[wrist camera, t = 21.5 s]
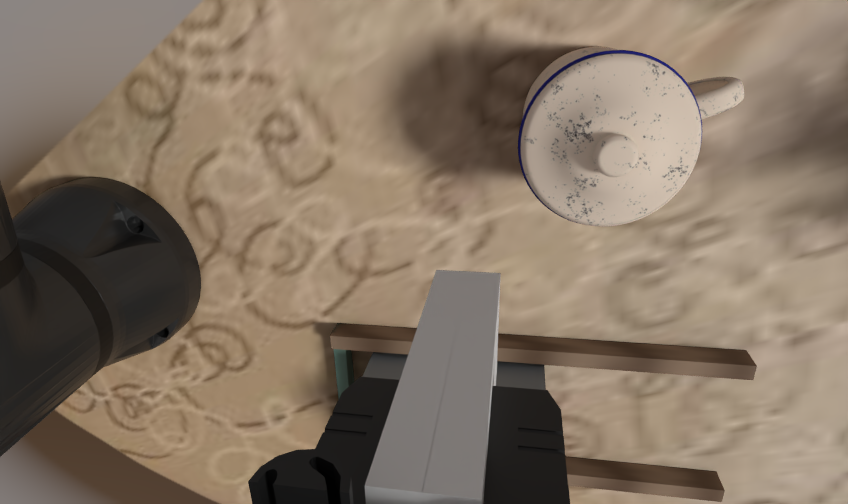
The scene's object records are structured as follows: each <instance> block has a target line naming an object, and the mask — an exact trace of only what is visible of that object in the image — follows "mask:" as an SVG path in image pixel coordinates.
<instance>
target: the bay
mask: <svg viewBox="0 0 848 504" xmlns="http://www.w3.org/2000/svg"><path fill="white" fill-rule="evenodd" d="M416 330H417V328H402V327H387V326H372V325H357V324H342V323H337V325H336V327H335V328H334V330H333V332H332V333H331V335H330V341H331V349H334V358H335V368H336V378H337V387H338V397H339V398H340V396H341V394H342V392H343V391H344V390H345V389H347V388H348V387H349V386H350V385H351V384H352V383H354V374H353V362H352V351H351V350H355V351H368V352H382V353H395V354H409V351H410V348H411V345H412V342H413V339H414V336H415V333H416ZM497 361H503V362H516V363H529V364H543V365H556V366H570V367H583V368H596V369H610V370H623V371H637V372H650V373H664V374H677V375H690V376H704V377H717V378H731V379H744V380H753V379H754V375H755V371H756V367H757V366H756V364H755V363H754V361H753V360H752V358H751V357H750V355H749V354H748V352H747V351H746V350H731V349H716V348H701V347H686V346H671V345H656V344H641V343H626V342H611V341H596V340H581V339H566V338H552V337H537V336H522V335H507V334H498V351H497ZM565 458H566V468H567V478H568V485H569V486H578V487H587V488H596V489H606V490H615V491H624V492H634V493H643V494H652V495H662V496H671V497H680V498H690V499H699V500H708V501H717V502H722V499H723V495H724V488H723V486H722V484H721V481H720V479H719V477H718V474H717V472H714V471H704V470H694V469H684V468H674V467H664V466H654V465H644V464H634V463H624V462H614V461H604V460H594V459H583V458H573V457H565Z"/></svg>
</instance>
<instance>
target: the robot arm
mask: <svg viewBox="0 0 848 504" xmlns="http://www.w3.org/2000/svg"><path fill="white" fill-rule="evenodd" d="M200 291H201V277H200V270H199V265H198V261H197V258H196V255H195V252H194V250H193V248H192V246H191V243H190V242H189V240H188V238H187V236H186V235H185V233H184V231H183V230H182V229H181V227H180V226H179V224H178V223H177V222H176V221H175V219H174V218H173V217H172V216H171V215H170V214H169V213H168V212H167V211H166V210H165V209H164V208H163V207H162V206H161V205H159V204H158V203H157V202H156V201H154V200H153V199H152V198H150V197H149V196H147V195H146V194H144V193H142V192H141V191H139V190H137V189H135V188H133V187H131V186H129V185H126V184H124V183H121V182H117V181H114V180H110V179H104V178H81V179H76V180H73V181H70V182H67V183H64V184H62V185H59V186H56V187H54V188H51V189H49V190H47V191H45V192H43V193H41V194H40V195H38V196H37V197H35V198H34V199H33V200H32V201H31V202H30V203H29V204H28V205H27V206H26V207H25V208H24V209H23V210H22V211H21V212H19V213H18V214H17V215H16V216H15V217H14V218H13V219H12V218H11V215H10V212H9V208H8V205H7V202H6V198H5V195H4V192H3V188H2V185H1V181H0V456H2V455H3V454H4V453H5V452H6V451H7V450H8V449H10V448H11V447H12V446H13V445H14V444H15V443H16V442H18V441H19V440H20V439H21V438H22V437H23V436H24V435H26V434H27V433H28V432H29V431H30V430H31V429H33V427H35V426H36V425H37V424H38V423H39V422H41V421H42V420H43V419H44V418H45V417H46V416H47V415H48V414H50V413H51V412H52V411H53V410H54V409H55V408H57V407H58V406H59V405H60V404H61V403H62V402H63V401H65V400H66V399H67V398H68V397H69V396H70V395H71V394H73V393H74V392H75V391H76V390H77V389H78V388H80V387H81V386H82V385H83V384H84V383H85V382H86V381H87V380H88V379H90V378H91V377H92V376H93V375H94V374H96V373H97V372H98V371H99V370H100V369H102V368H103V367H105V366H108V365H111V364H113V363H116V362H119V361H121V360H124V359H127V358H129V357H132V356H135V355H137V354H140V353H143V352H145V351H148V350H151V349H153V348H155V347H158V346H159V345H161V344H163V343H164V342H166V341H167V340H169V339H170V338H171V337H172V336H173V335H174V334H175V333H177V332H178V331H179V330H180V329H181V328H182V327H183V326H184V325H185V324H186V323H187V322H188V321H189V320H190V318H191V317H192V315H193V314H194V312H195V310H196V308H197V305H198V302H199V298H200ZM499 298H500V273H487V272H467V271H447V270H436V273H435V276H434V279H433V282H432V285H431V288H430V291H429V294H428V297H427V300H426V303H425V306H424V309H423V312H422V315H421V318H420V321H419V324H418V327H417V330H416V333H415V336H414V339H413V342H412V345H411V348H410V351H409V354H408V357H407V360H406V363H405V366H404V369H403V372H402V375H401V378H400V380H396V379H384V378H372V377H359V378H358V379H357V380H356V381H355V382H354V383H352V384H351V385H350V386H349V387H348V388H347V389H345V390H344V391H343V392H342V394H341V396H340V398H339V400H338V402H337V404H336V406H335V408H334V411H333V415H332V416H331V417H330V419H329V421H328V423H327V425H326V427H325V432H324V433H323V434H322V436H321V438H320V440H319V442H318V444H317V446H316V448H315V449H308V450H295V451H292V452H289V453H286V454H282V455H279V456H277V457H275V458H274V459H272V460H271V461H269V462H267V463H266V464H264V465H263V466H261V467H260V468H259V469H258V471H257V472H256V473H255V474H254V475H253V476H252V478H251V479H250V480H249V481H248V483H249V488H250V493H251V498H252V504H570V499H569V489H568V478H567V468H566V458H565V448H564V438H563V427H562V417H561V409H560V408H559V406H558V405H557V404H556V402H555V401H554V399H553V398H552V396H551V395H550V393H549V392H548V390H539V389H527V388H515V387H503V386H496V374H497V351H498V324H499Z"/></svg>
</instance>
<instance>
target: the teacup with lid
mask: <svg viewBox="0 0 848 504" xmlns="http://www.w3.org/2000/svg"><path fill="white" fill-rule="evenodd" d="M743 98H744V87H743V83H742V82H741V81H740V80H739V79H737V78H733V77H716V78H708V79H703V80H698V81H693V82H689V83H687V82H686V81H685V80H684V79H683V78H682V77H681V75H679V74H678V73H677V72H676V71H675V70H674V69H673V68H671V67H670V66H669V65H667V64H666V63H664V62H662V61H661V60H659V59H657V58H654V57H652V56H650V55H646V54H643V53H639V52H634V51H626V50H617V49H613V48H608V47H587V48H582V49H578V50H575V51H572V52H569V53H567V54H565V55H563V56H561V57H559V58H558V59H556V60H555V61H553V62H552V63H551V64H550V65H548V66H547V67H546V68H545V69H544V70H543V71H542V72H541V74H540V75H539V76H538V77H537V79H536V80H535V81H534V83H533V85H532V86H531V88H530V90H529V92H528V95H527V98H526V100H525V104H524V109H523V119H522V122H521V126H520V131H519V138H518V155H519V162H520V166H521V170H522V173H523V175H524V178H525V180H526V182H527V184H528V186H529V187H530V189H531V191H532V192H533V193H534V195H535V196H536V197H537V198H538V199H539V201H540V202H541V203H542V204H544V205H545V206H546V207H547V208H548V209H550V210H551V211H552V212H554V213H555V214H557V215H559V216H561V217H563V218H565V219H567V220H570V221H573V222H576V223H580V224H584V225H590V226H615V225H621V224H626V223H630V222H633V221H636V220H639V219H641V218H643V217H646V216H647V215H649V214H651V213H653V212H655V211H656V210H658V209H659V208H661V207H662V206H663V205H665V204H666V203H667V202H668V201H669V200H671V199H672V198H673V197H674V196H675V195H676V194H677V193H678V191H679V190H680V189H681V188H682V186H683V185H684V184H685V182H686V181H687V179H688V178H689V176H690V174H691V172H692V170H693V168H694V166H695V163H696V161H697V158H698V155H699V151H700V147H701V141H702V120H701V119H704V118H707V117H711V116H714V115H717V114H719V113H722V112H725V111H727V110H729V109H731V108H733V107H735V106H736V105H738V104H739V103H740V102H741V101H742V100H743Z"/></svg>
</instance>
